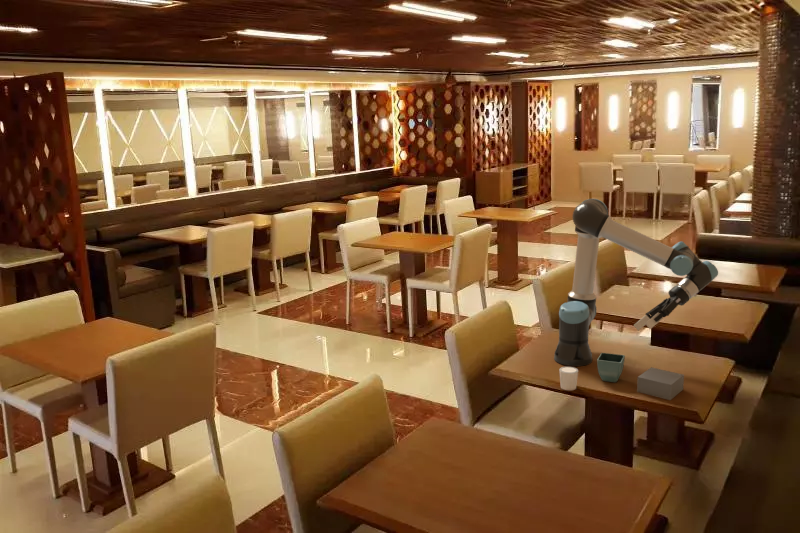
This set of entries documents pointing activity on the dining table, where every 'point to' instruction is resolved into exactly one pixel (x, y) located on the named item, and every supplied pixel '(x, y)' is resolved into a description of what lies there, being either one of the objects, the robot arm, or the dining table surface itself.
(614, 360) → the flower pot
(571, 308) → the robot arm
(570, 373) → the shot glass
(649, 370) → the charcoal stand
